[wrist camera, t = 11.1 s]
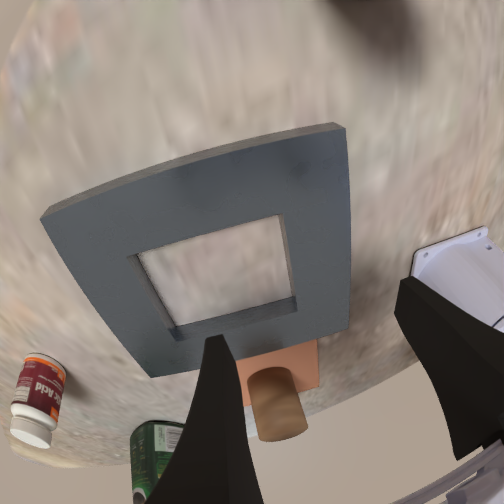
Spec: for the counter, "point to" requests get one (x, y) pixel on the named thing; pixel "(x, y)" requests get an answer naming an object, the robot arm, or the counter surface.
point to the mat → (293, 358)
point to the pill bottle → (37, 400)
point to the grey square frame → (208, 220)
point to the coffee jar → (151, 455)
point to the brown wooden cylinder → (276, 404)
